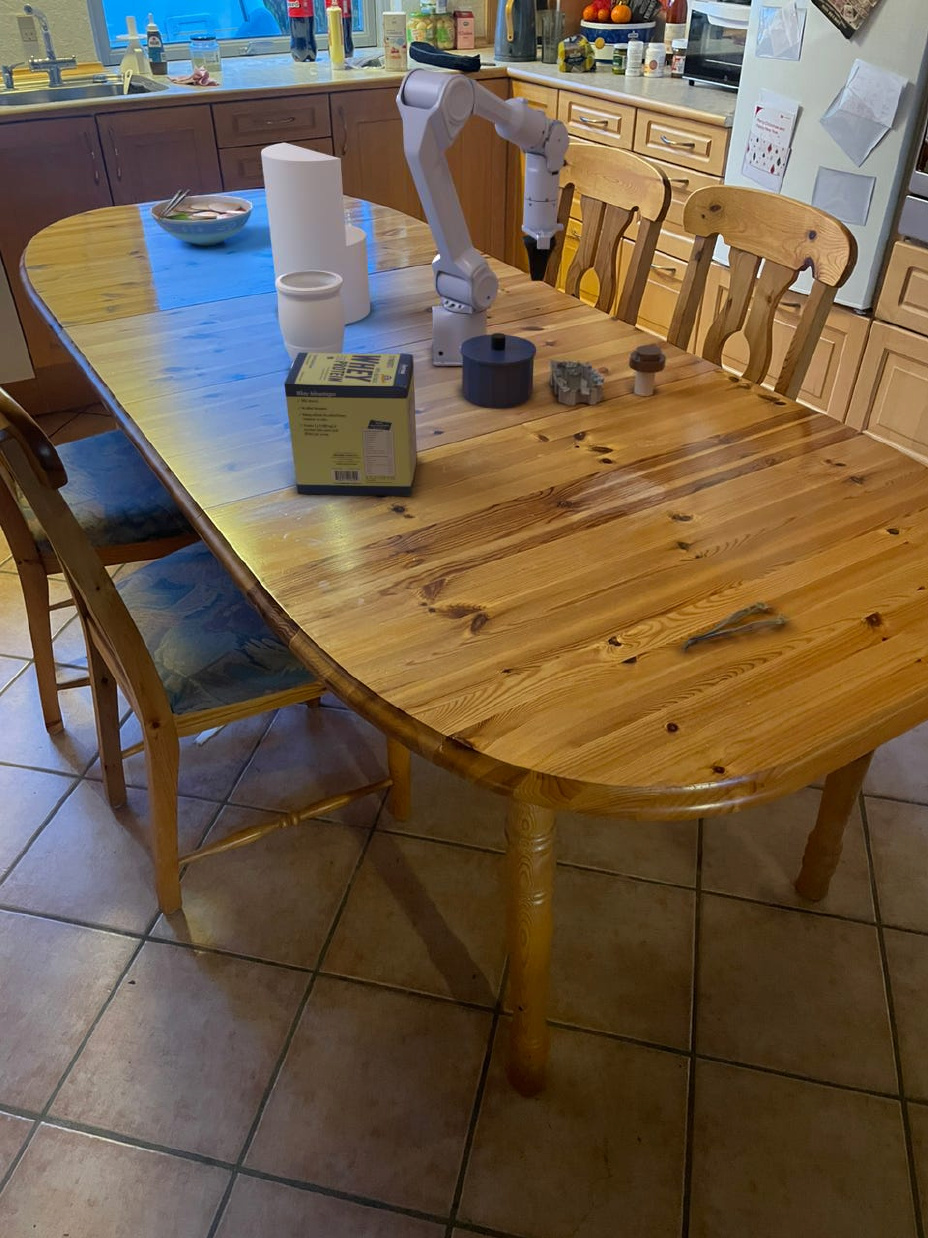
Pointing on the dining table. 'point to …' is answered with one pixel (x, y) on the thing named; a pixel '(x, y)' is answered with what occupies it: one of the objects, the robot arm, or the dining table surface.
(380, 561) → the dining table surface
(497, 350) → the pot lid
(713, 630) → the tongs
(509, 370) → the pot
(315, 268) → the cylinder
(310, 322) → the jar
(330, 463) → the protein box
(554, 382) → the egg carton
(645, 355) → the mushroom
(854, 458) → the dining table surface
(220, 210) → the ramen bowl
